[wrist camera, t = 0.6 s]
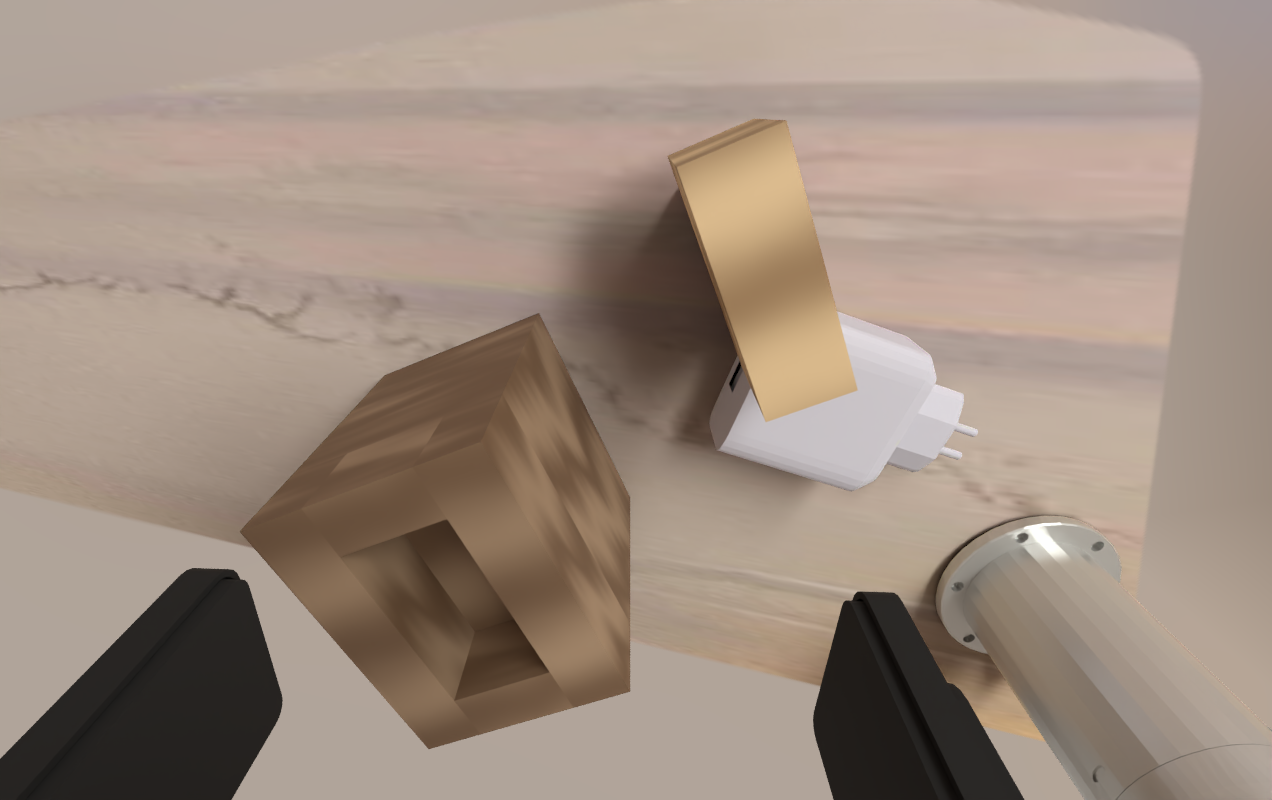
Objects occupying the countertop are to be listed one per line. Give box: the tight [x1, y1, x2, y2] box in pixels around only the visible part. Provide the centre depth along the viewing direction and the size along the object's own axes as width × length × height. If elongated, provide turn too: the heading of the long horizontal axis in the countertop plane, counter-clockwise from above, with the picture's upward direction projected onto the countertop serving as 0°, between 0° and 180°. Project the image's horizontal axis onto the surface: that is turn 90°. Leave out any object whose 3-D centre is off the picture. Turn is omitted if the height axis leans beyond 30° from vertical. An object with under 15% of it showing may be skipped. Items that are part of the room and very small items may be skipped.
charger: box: [709, 312, 978, 491], centre depth 35 cm, size 5×9×15 cm
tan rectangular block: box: [668, 119, 858, 422], centre depth 28 cm, size 11×4×11 cm, turn 22°
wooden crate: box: [240, 313, 630, 749], centre depth 32 cm, size 14×10×15 cm
